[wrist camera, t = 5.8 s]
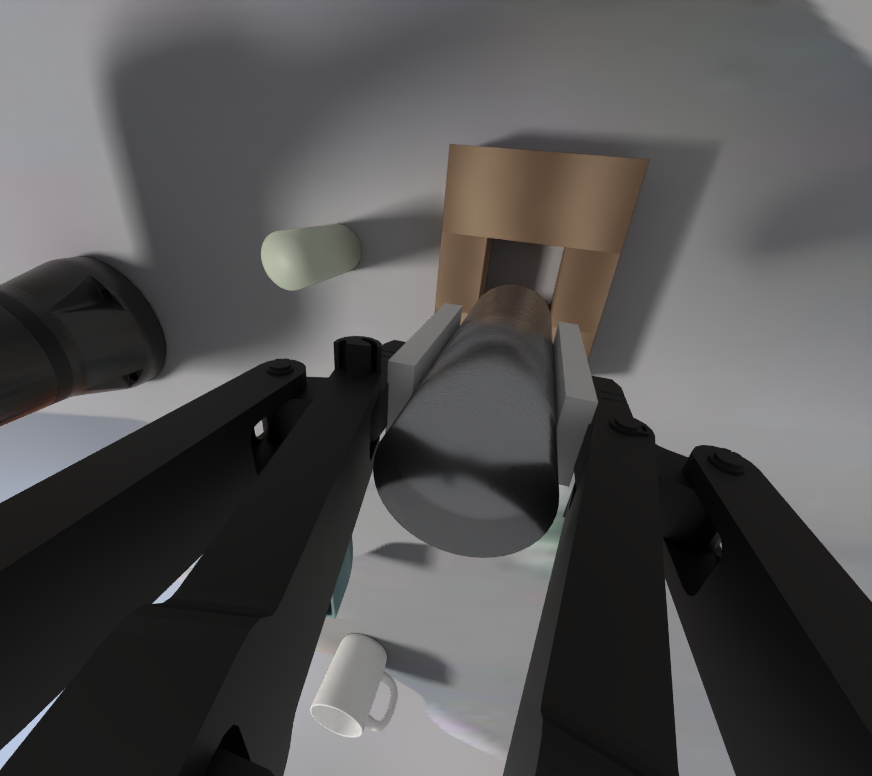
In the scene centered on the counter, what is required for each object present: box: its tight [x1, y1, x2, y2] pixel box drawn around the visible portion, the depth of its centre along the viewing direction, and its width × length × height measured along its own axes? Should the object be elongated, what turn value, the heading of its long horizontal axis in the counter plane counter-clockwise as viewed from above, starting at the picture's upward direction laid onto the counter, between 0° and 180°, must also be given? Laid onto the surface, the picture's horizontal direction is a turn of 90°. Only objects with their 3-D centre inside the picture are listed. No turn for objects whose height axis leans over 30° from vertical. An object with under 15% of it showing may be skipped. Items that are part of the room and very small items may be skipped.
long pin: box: [373, 284, 559, 558], centre depth 13 cm, size 4×4×12 cm
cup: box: [310, 634, 398, 737], centre depth 58 cm, size 8×12×10 cm
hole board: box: [435, 144, 649, 361], centre depth 28 cm, size 12×16×4 cm
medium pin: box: [261, 224, 361, 291], centre depth 29 cm, size 4×4×8 cm
